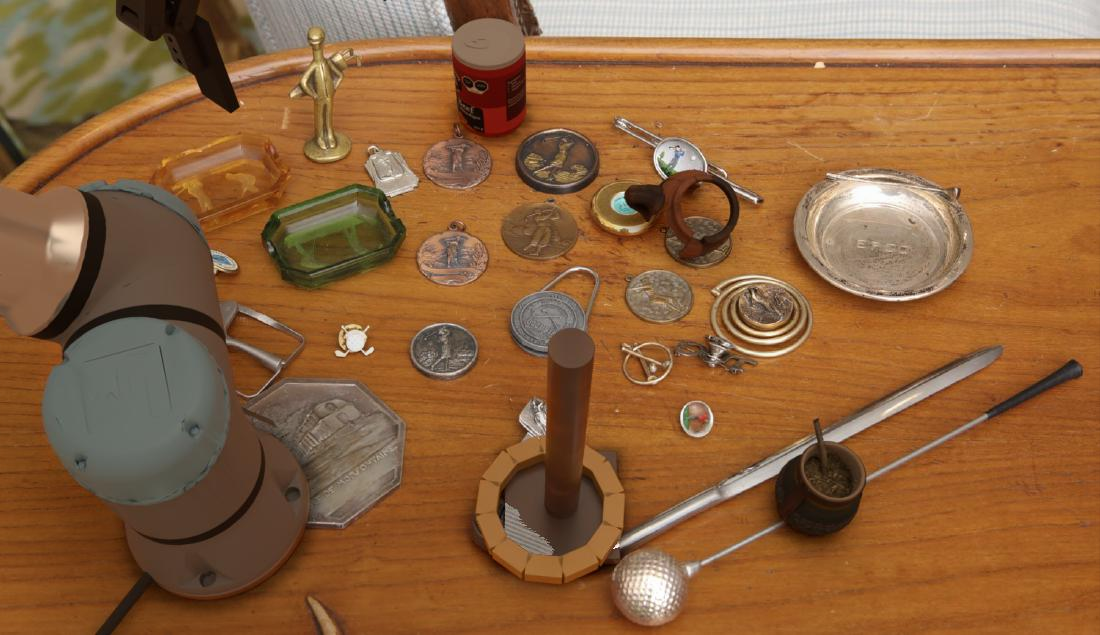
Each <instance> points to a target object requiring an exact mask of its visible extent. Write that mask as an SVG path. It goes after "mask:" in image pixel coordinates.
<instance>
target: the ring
mask: <svg viewBox="0 0 1100 635" xmlns="http://www.w3.org/2000/svg"><path fill="white" fill-rule="evenodd" d="M545 449H546V434H543V435H542V434H540V435H539V436H538V435H535V436H532V437H530V438H528V439H525V440H523V441H521V442H518V443H515V444H512V445H511V446H508V447H505V451H504V450H502V451H501V452H500V453H499V454H498V455H497V457H496V458H495V459H494V461H492V463H491V464H490V465H489V466H488V468H487V469H486V470H485V471H484V473H483V474H482V475H481V479H480V480H479V484H478V491H477V498H476V504H475V510H474V511H475V512H474V514H475V521H476V525H477V524H478V526H477V528H478V527H479V528H478V530H479V529H480V530H479V532H480V531H481V533H482V535H481V537H482V536H483V538H482V540H483V539H484V540H483V542H484V545H485V547H486V550H487V551H488V554H489V555H490V556H491V557H492V559H493V560H494V561H496V562H497V563H498V564H499V565H501V566H503V567H504V568H505V569H507V570H508V571H509V572H510V573H512V574H514V575H515V576H516V577H517V578H519V579H524V581H525V582H533V583H544V584H554V585H562V584H563V583H564V584H568V583H569V582H572V581H574V580H576V579H579V578H581V577H583V576H586V575H587V574H590V573H592V572H594V571H596V570H598V569H599V567H602V565H604V564H603V562H604V561H605V559H606V558H607V557H608V555H609V554H610V552H611V551H612V549H613V548H614V547H615V545H616V544H617V542H618V541H619V539H620V540H621V537H622V535H623V530H624V524H625V523H624V521H625V520H624V519H625V504H626V503H625V502H626V493H625V489H624V487H623V485H622V483H621V480H620V479H619V477H617V476H618V475H617V476H616V474H615V472H614V470H613V468H612V466H611V464H610V462H609V461H606V458H605V457H604V456H602V455H601V454H599V453H598V452H596V451H595V450H596V449H593V448H591V446H588V445H587V444H585V449H584V458H583V467H582V473H583V474H584V475H586V476H587V477H589V478H590V479H591V480H592V482H593V484H594V486H595V488H596V490H597V492H598V494H599V496H600V498H601V500H602V502H603V508H602V522H601V525H600V526H599V527H598V529H597V530H596V532H595V533H594V534H593V536H592V537H591V539H590V540H589V541H588V543H587V544H586V545H585V546H582V547H580V548H578V549H576V550H573V551H571V552H569V553H567V554H564V555H562V556H552V555H542V554H532V553H529V552H528V551H527V550H525V549H524V548H522V547H521V546H520V545H518V544H517V543H515V542H514V541H513V540H511V539H510V538H508V537H507V534H506V532H505V530H504V524H503V523H502V521H501V518H500V516H499V509H498V507H499V508H500V502H499V501H500V500H501V495H502V494H501V493H502V492H503V490H505V487H506V485H507V484H508V483H509V481H510V480H511V479H512V478H513V476H514V475H515V474H516V473H517V472H518V471H520V470H522V469H525V468H527V467H530V466H532V465H535V464H537V463H539V462H545ZM497 513H498V514H497ZM481 533H480V534H481Z"/></svg>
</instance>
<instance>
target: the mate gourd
mask: <svg viewBox="0 0 1100 635" xmlns="http://www.w3.org/2000/svg"><path fill="white" fill-rule="evenodd" d="M812 424H813V426H814V427H813V428H814V432H815V433H814V434H815V436H816V442H814V443H812V444H810V445H808V446H807V447H806V448H805V449H804V450H803V452H801V453H800V454H797V455H796V456H794V457H792V458H791V459H789V460H787V461H786V463H785V464H784V465H783V466H782V468H781V469H780V470H779V473H778V475H777V477H776V480H775V484H774V485H775V487H774V499H775V500H774V501H775V503H776V508H777V511H778V515H779V516H780V518H781V519H782V520H783V522H784V523H785V524H786V525H788V526H790V527H791V528H793V529H794V530H795V531H797V532H798V533H801V534H802V535H804V536H807V537H815V538H817V537H819V538H821V537H827V536H830V535H833V534H836V533H838V532H840V531H842V530H843V529H845V528H846V527H848V526H849V525H850V524H851V523H852V521H853V520H854V518H855V517H856V516H857V513H858V510H859V507H860V504H861V499H862V497H863V491H864V489H865V487H866V485H867V480H868V479H867V478H868V477H867V471H866V468H865V465H864V463H863V461H862V459H861V458H860V456H859V455H858V454H857V453H856V452H855V451H854V450H852V449H851V448H850V447H848V446H846V445H844V444H842V443H840V442H837V441H833V440H825V439H824V437H823V429H822V428H821V422H820V418H819V417H816V418H814V419H813V420H812Z"/></svg>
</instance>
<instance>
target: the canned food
mask: <svg viewBox="0 0 1100 635" xmlns="http://www.w3.org/2000/svg"><path fill="white" fill-rule="evenodd" d="M450 42H451V45H450V48H451V59H452V70H453V79H454V88H455V97H456V98H455V99H456V106H457V107H456V108H457V115H458V118H459V120H460V122H461V124H462V125H463V127H464V128H465V129H467V130H468V131H469V132H470V133H472V134H475V135H477V136H481V137H485V138H495V137H496V138H497V137H503V136H506V135H509V134H511V133H513V132H514V131H516V130H517V129H518V128H520V126H521V125H522V124H523V122H524V119H525V116H526V115H527V114H526V113H527V52H526V50H527V49H526V40H525V36H524V33H523V32H522V30H520V28H519V27H518V26H516V25H515V24H514V23H512V22H510V21H507V20H504V19H499V18H492V17H487V18H486V17H485V18H478V19H473V20H470V21H468V22H466V23H464V24H462V25H461V26H460V27H458V28H457V29H456V30H455V31H454V33H453V35H452V37H451V41H450Z"/></svg>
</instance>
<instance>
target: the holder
mask: <svg viewBox="0 0 1100 635" xmlns="http://www.w3.org/2000/svg"><path fill="white" fill-rule="evenodd" d="M595 353H596V345H595V342H594V340H593V338H592V337H591V335H590V334H589V333H587V332H586V331H584V330H582V329H579V328H575V327H567V328H562V329H560V330H558V331H556V332H555V333H553V335H552V336H551V337H550V339H549V340H548V344H547V360H546V361H547V363H546V404H545V405H546V407H545V408H546V411H545V436H546V449H545V462H539V463H537V464H535V465H532V466H530V467H527V468H525V469H522V470H520V471H518V472H517V473H516V474H515V475H514V476H513V478H512V479H511V480H510V481H509V483H508V484H507V485H506V487H505V488H504V501H503V502H505V503H507V504H508V505H509V506H511V507H513V508H514V509H517V510H518V512H519V514H520V516H519V518H520V519H522V520H519V521H521V522H524V523H522V524H525V525H527V526H525V527H527V528H531V529H529V530H533V531H536V532H534V533H537V534H539V535H540V536H539V537H544V538H545V539H544V540H546V539H547V540H546V541H548V542H550V543H547V544H549V545H550V546H552V548H553V549H554V550H555V551H553V550H552V551H553V552H555V554H553V556H562V555H564V554H567V553H569V552H571V551H573V550H576V549H578V548H580V547H582V546H585V545H586V544H587V543H588V541H589V540H590V539H591V537H592V536H593V534H594V533H595V532H596V530H597V529H598V527H599V526H600V525H601V522H602V508H603V502H602V500H601V498H600V496H599V494H598V492H597V490H596V488H595V486H594V484H593V482H592V480H591V479H590V478H589V477H587V476H586V475H584V474H583V473H582V467H583V458H584V449H585V445H586V438H587V428H588V422H589V421H588V420H589V418H588V417H589V410H590V401H591V393H592V392H591V391H592V383H593V374H594V364H595V355H596V354H595ZM594 450H595V451H596V452H598V453H599V454H601V455H602V456H604V457H605V458H606V461H609V462H610V464H611V466H612V468H613V470H614V472H615V474H616V476H617V477H618V452H617V450H597V449H594ZM618 478H619V477H618ZM619 541H620V542H621V538H620V539H619ZM620 563H621V546H620V547H618V548H615V549H612V551H611V552H610V554H609V555H608V557H607V558H606V559H605V561H604V562H603V564H602V565H619V564H620Z"/></svg>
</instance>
